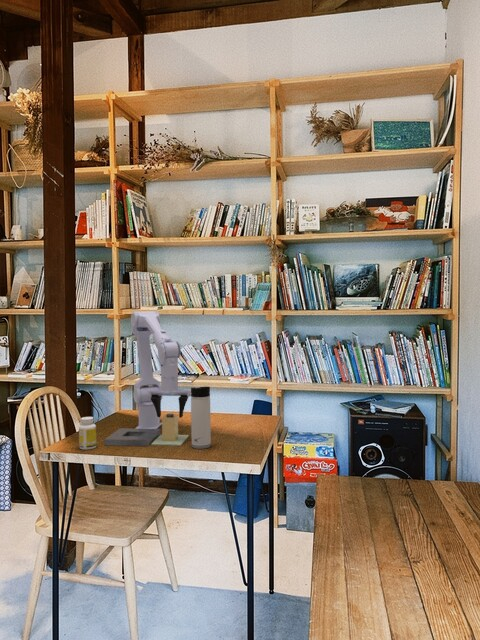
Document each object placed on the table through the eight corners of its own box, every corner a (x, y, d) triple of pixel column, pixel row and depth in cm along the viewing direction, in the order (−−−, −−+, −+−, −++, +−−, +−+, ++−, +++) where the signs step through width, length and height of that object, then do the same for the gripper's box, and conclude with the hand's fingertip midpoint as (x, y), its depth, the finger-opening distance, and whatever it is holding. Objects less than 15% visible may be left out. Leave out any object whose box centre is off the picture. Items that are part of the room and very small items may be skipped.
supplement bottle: (99, 445, 170) (98, 416, 170) (92, 450, 165) (92, 419, 164) (83, 445, 171) (82, 416, 170) (76, 449, 165) (75, 419, 165)
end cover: (165, 437, 178) (165, 412, 177) (178, 437, 177) (177, 413, 177) (162, 440, 173) (162, 415, 173) (175, 441, 173) (174, 415, 172)
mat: (160, 435, 182) (160, 434, 182) (188, 436, 181) (188, 435, 181) (151, 445, 170) (151, 443, 170) (180, 445, 169) (180, 444, 169)
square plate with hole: (120, 433, 185) (120, 428, 185) (160, 434, 183) (160, 429, 183) (104, 445, 170) (104, 439, 170) (148, 446, 168) (148, 440, 168)
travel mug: (196, 450, 163) (195, 387, 162) (188, 445, 169) (187, 385, 168) (214, 447, 166) (213, 386, 165) (206, 442, 172) (205, 383, 171)
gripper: (145, 378, 171) (145, 419, 172) (187, 379, 170) (188, 419, 170) (151, 375, 178) (151, 414, 179) (192, 376, 177) (192, 415, 177)
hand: (170, 416), depth 175 cm, fingers open, 7 cm apart
